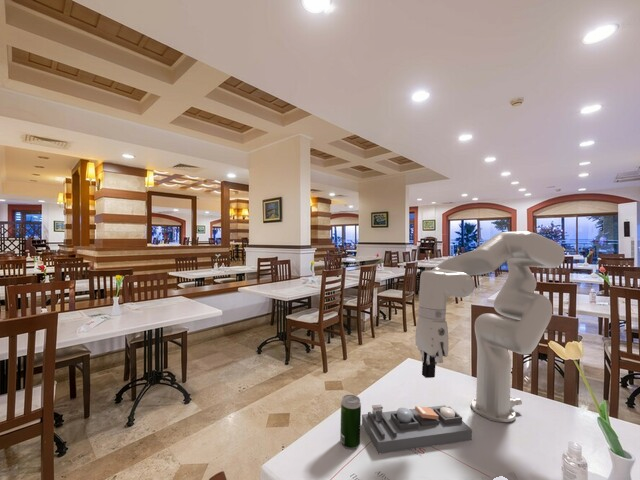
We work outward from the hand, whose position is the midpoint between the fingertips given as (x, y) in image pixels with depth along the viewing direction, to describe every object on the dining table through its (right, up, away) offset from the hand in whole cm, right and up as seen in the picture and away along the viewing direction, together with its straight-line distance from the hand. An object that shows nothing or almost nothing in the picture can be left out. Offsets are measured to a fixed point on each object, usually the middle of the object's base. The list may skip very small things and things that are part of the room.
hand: (428, 376), depth 84 cm
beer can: (-23, -16, -6) cm, 29 cm away
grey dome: (-7, -12, -1) cm, 14 cm away
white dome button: (+6, -13, +2) cm, 15 cm away
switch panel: (-4, -16, 0) cm, 16 cm away
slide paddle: (-15, -13, 0) cm, 20 cm away
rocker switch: (-1, -11, 0) cm, 11 cm away
